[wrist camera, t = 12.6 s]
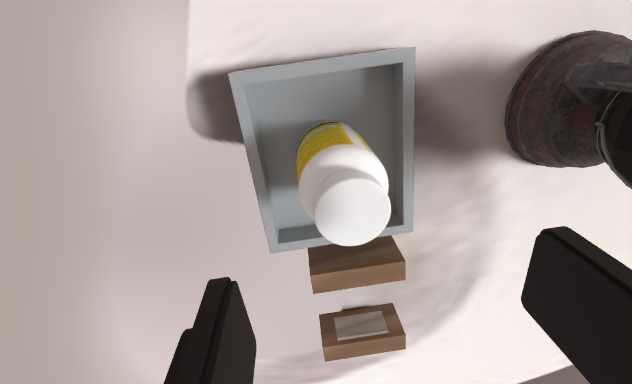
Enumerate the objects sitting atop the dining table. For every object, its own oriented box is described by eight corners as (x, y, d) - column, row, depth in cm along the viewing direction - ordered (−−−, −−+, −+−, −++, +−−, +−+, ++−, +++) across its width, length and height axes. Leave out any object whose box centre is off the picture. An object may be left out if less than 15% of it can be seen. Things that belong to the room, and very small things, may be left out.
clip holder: (307, 247, 29) (310, 275, 25) (391, 234, 29) (405, 261, 25) (321, 327, 33) (325, 361, 30) (393, 316, 33) (405, 348, 30)
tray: (235, 70, 22) (228, 73, 19) (399, 47, 22) (415, 47, 19) (272, 233, 28) (270, 253, 25) (401, 214, 28) (413, 231, 25)
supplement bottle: (285, 171, 24) (283, 239, 16) (312, 108, 23) (327, 145, 14) (345, 194, 26) (373, 268, 17) (375, 136, 24) (426, 186, 15)
